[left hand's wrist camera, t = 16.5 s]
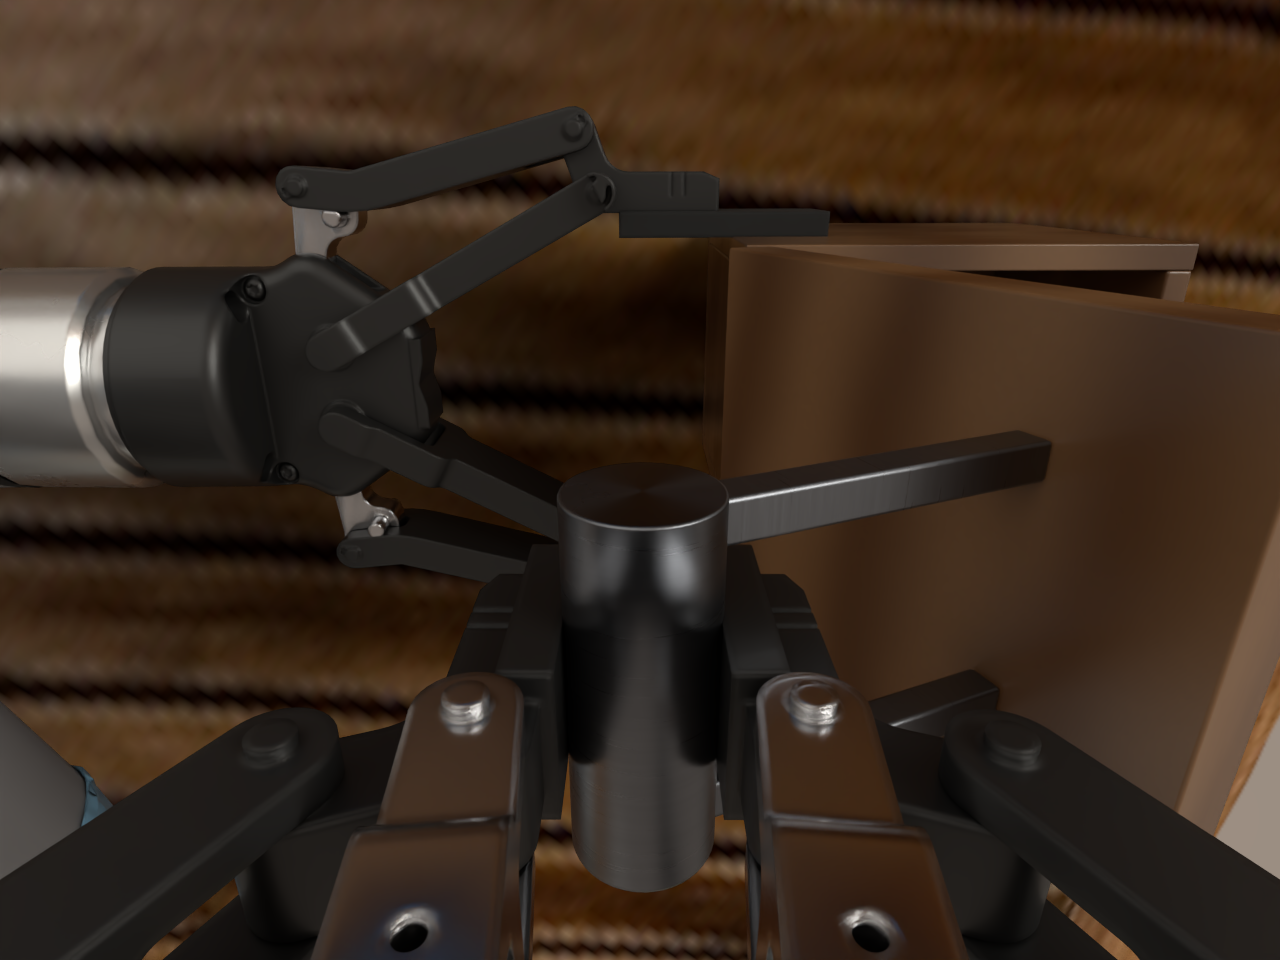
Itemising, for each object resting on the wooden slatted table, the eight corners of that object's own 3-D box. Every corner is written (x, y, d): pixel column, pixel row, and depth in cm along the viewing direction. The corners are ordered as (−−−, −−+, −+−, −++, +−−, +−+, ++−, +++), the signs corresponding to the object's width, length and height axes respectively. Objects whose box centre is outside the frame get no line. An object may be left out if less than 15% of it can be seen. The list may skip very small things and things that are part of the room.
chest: (1012, 222, 31) (1201, 243, 21) (974, 443, 34) (1120, 554, 24) (708, 223, 31) (746, 244, 21) (702, 444, 34) (731, 556, 24)
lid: (1401, 330, 9) (696, 427, 5) (1183, 920, 12) (675, 1202, 9) (770, 246, 20) (420, 259, 17) (752, 563, 24) (458, 626, 20)
